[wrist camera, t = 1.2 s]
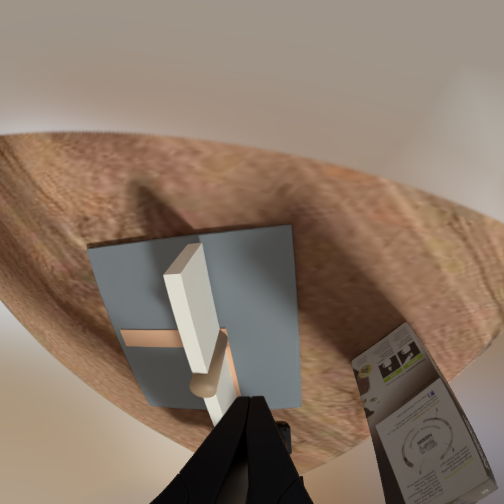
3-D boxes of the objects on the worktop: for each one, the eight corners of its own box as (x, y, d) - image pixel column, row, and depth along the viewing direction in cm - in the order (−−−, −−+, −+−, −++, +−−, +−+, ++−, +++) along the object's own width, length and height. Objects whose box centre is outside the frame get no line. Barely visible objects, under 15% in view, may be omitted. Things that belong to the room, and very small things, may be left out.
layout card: (301, 404, 25) (301, 407, 25) (150, 403, 27) (149, 406, 27) (290, 224, 19) (291, 226, 19) (89, 247, 21) (86, 249, 21)
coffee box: (347, 362, 23) (386, 533, 8) (406, 318, 21) (493, 478, 6) (389, 402, 25) (427, 530, 10) (439, 367, 23) (500, 490, 8)
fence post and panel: (243, 407, 25) (238, 454, 20) (225, 407, 26) (217, 454, 20) (226, 327, 22) (213, 379, 17) (203, 328, 22) (186, 379, 17)
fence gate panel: (219, 329, 22) (207, 373, 17) (207, 329, 22) (192, 373, 17) (202, 242, 19) (180, 273, 15) (187, 244, 19) (163, 275, 15)
